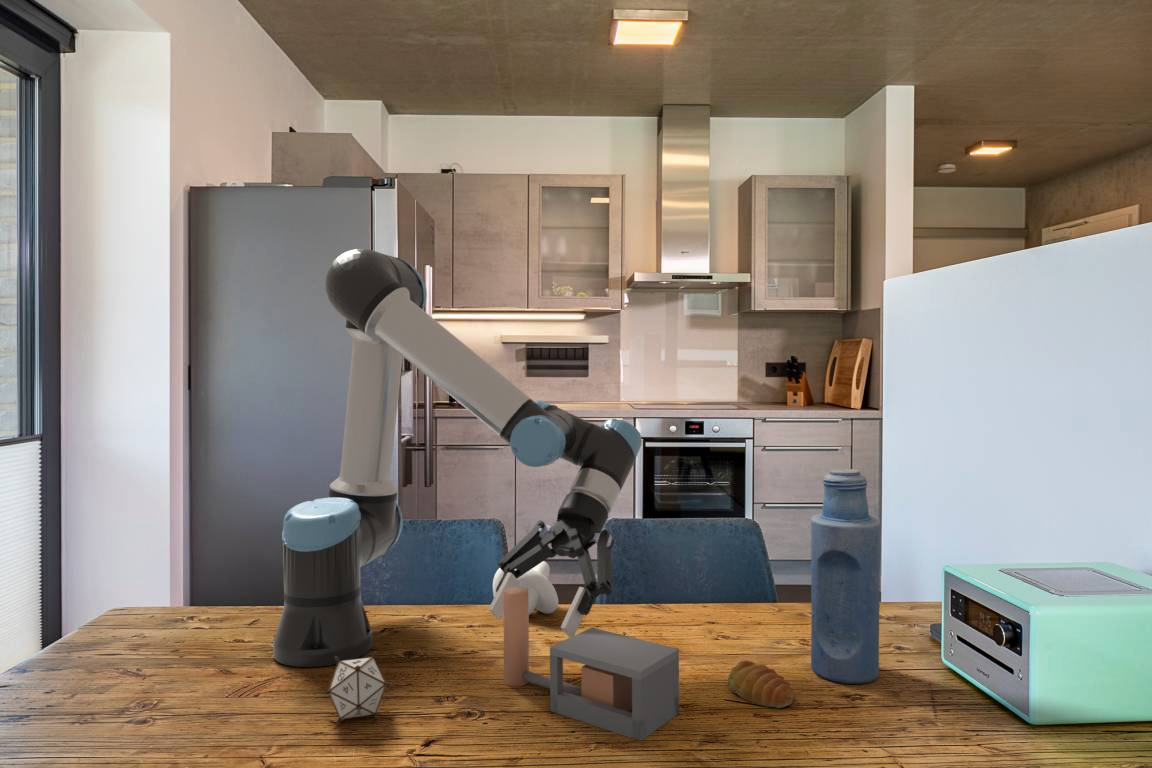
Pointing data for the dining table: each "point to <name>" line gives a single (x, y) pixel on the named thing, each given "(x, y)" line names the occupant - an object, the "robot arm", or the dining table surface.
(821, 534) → the bottle
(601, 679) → the block
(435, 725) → the dining table surface
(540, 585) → the white knot
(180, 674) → the dining table surface
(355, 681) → the game die
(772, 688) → the pastry
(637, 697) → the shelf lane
